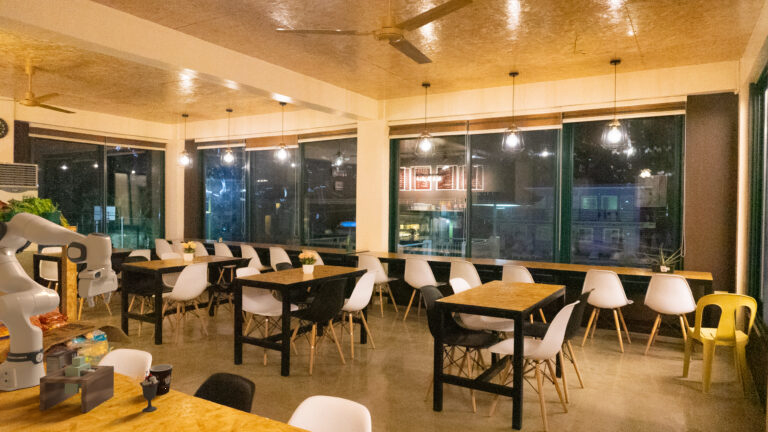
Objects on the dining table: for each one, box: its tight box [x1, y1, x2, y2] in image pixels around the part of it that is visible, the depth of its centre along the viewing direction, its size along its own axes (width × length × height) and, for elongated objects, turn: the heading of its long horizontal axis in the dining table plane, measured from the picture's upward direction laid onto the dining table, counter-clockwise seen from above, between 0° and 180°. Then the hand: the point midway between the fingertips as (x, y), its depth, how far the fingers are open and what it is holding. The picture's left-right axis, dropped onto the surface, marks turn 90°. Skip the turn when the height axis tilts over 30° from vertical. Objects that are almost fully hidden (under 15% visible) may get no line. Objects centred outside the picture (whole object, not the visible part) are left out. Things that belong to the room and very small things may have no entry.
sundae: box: [139, 370, 159, 413], centre depth 182 cm, size 7×7×15 cm
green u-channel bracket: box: [65, 355, 92, 395], centre depth 187 cm, size 5×7×12 cm
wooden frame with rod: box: [39, 364, 115, 414], centre depth 187 cm, size 18×16×13 cm
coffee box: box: [45, 349, 78, 375], centre depth 198 cm, size 9×6×16 cm
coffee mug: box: [148, 363, 173, 396], centre depth 198 cm, size 12×9×10 cm
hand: (99, 304), depth 205 cm, fingers open, 8 cm apart
